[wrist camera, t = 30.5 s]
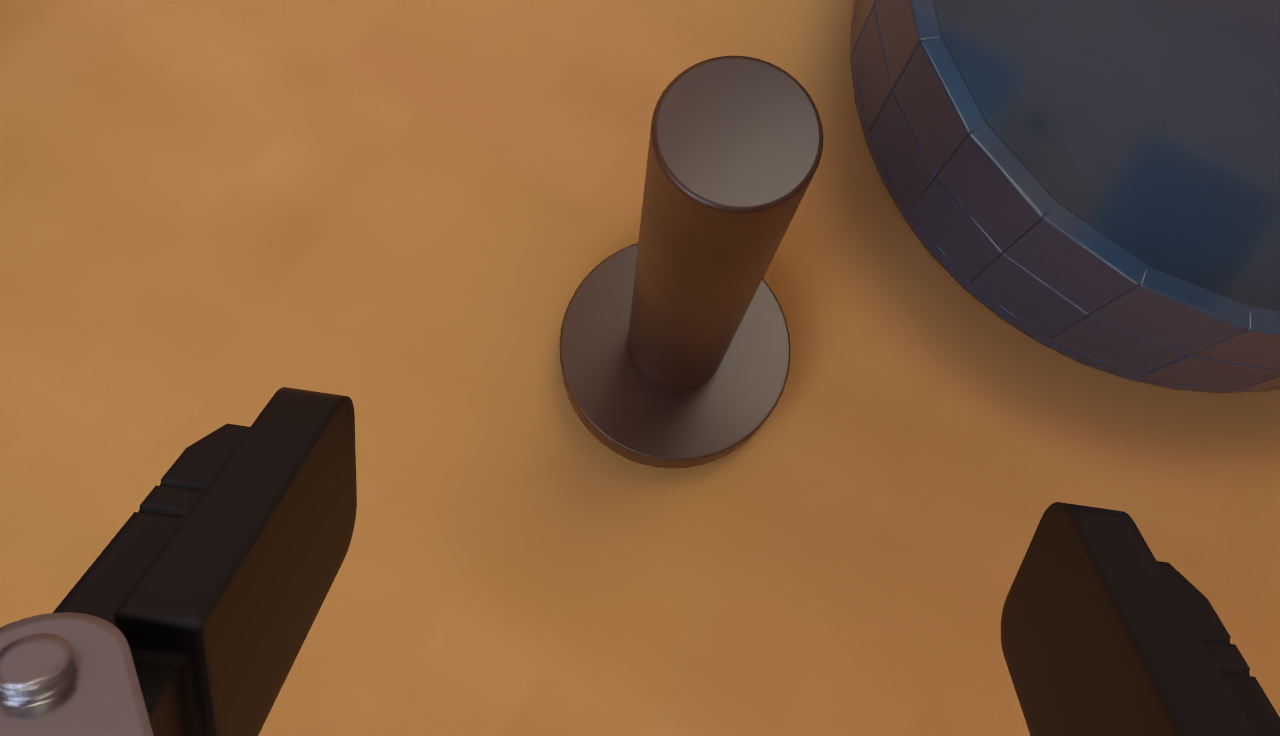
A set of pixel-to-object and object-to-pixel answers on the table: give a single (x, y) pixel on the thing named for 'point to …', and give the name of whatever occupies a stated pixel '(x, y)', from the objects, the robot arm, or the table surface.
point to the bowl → (1092, 171)
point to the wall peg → (697, 272)
